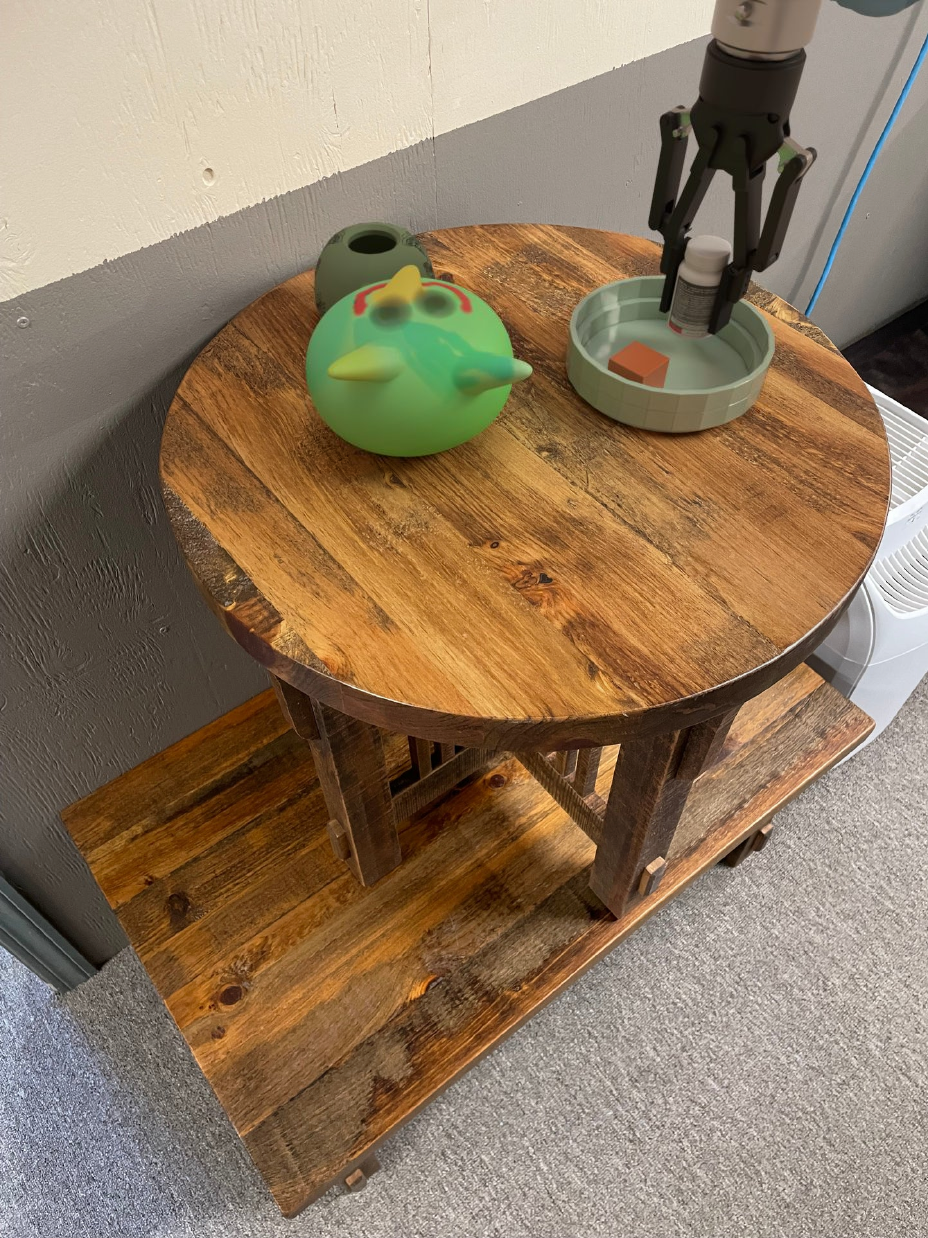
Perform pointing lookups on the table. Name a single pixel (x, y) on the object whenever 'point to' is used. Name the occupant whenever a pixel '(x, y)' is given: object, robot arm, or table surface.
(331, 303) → the mug
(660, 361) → the block
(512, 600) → the table surface
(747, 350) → the bowl
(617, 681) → the table surface
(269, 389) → the table surface
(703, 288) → the pill bottle
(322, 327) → the toy bird
